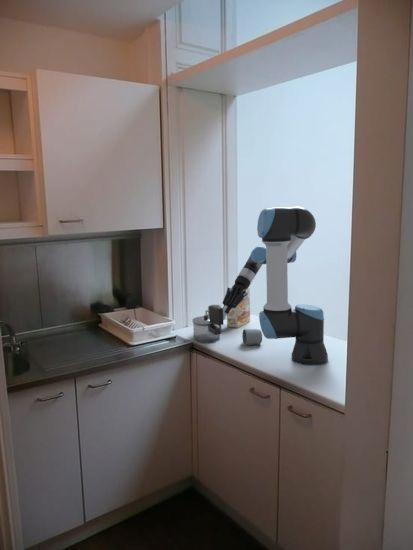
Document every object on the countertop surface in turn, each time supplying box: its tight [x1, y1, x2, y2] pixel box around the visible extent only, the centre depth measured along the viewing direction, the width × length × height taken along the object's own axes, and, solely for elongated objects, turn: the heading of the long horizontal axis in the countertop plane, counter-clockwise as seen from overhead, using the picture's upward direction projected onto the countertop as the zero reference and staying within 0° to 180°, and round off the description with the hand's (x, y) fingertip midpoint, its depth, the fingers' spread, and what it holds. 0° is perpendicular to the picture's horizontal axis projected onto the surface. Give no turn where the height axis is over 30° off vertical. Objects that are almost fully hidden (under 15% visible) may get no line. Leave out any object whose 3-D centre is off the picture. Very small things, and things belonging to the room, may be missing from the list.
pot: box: [192, 322, 222, 344], centre depth 225 cm, size 25×13×9 cm, turn 24°
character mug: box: [204, 304, 222, 330], centre depth 242 cm, size 11×7×13 cm, turn 113°
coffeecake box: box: [225, 287, 251, 329], centre depth 251 cm, size 15×7×20 cm, turn 147°
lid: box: [192, 304, 224, 326], centre depth 222 cm, size 20×14×9 cm
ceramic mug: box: [241, 328, 263, 346], centre depth 217 cm, size 11×8×8 cm
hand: (220, 318), depth 219 cm, fingers closed
